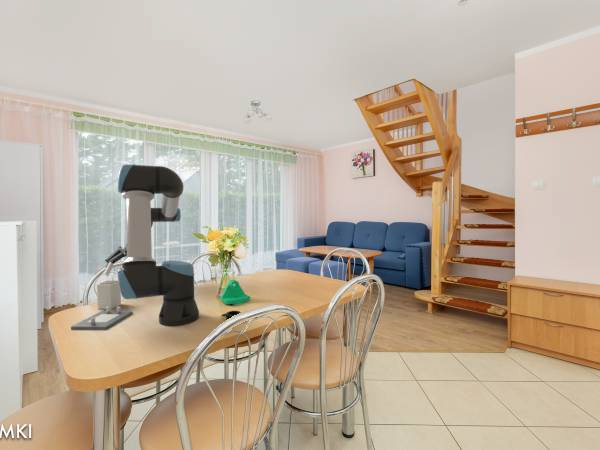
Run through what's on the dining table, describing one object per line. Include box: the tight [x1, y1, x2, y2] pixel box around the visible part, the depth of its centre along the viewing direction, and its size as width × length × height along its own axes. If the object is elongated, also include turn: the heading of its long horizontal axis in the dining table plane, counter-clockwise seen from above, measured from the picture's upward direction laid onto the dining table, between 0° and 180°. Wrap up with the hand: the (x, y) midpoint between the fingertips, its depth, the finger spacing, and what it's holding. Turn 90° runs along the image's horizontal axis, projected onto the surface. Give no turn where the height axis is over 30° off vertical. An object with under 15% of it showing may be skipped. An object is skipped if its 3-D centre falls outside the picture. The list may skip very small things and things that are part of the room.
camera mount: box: [220, 279, 251, 306], centre depth 143 cm, size 12×8×10 cm, turn 126°
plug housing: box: [96, 280, 122, 310], centre depth 136 cm, size 6×7×11 cm
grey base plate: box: [70, 306, 133, 331], centre depth 119 cm, size 13×17×4 cm
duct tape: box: [220, 310, 242, 321], centre depth 121 cm, size 8×10×3 cm
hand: (119, 275), depth 144 cm, fingers open, 13 cm apart
